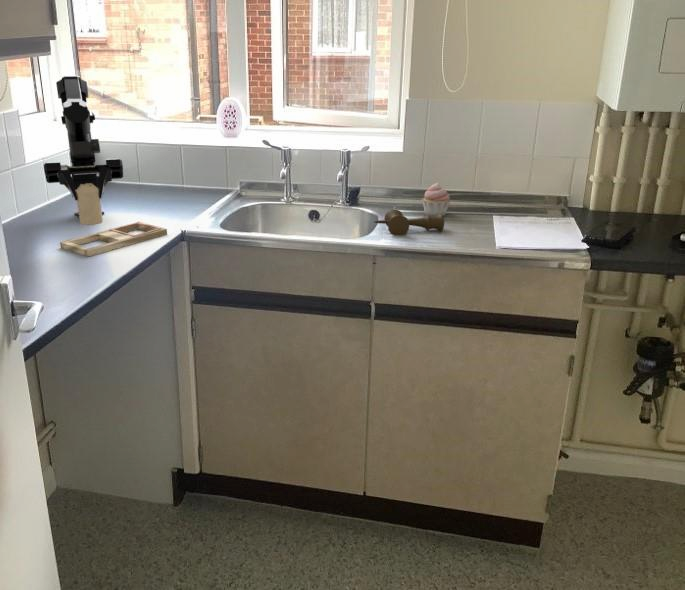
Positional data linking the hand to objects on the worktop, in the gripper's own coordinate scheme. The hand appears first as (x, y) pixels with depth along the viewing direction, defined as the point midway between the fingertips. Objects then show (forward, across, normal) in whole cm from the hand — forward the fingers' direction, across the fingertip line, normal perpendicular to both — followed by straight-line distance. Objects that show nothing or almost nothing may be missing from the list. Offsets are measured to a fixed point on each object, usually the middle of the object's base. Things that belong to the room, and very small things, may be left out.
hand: (88, 198), depth 168 cm
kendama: (+19, +84, 0) cm, 86 cm away
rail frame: (+6, +6, +13) cm, 15 cm away
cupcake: (+10, +100, +9) cm, 101 cm away
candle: (+4, 0, +6) cm, 7 cm away
